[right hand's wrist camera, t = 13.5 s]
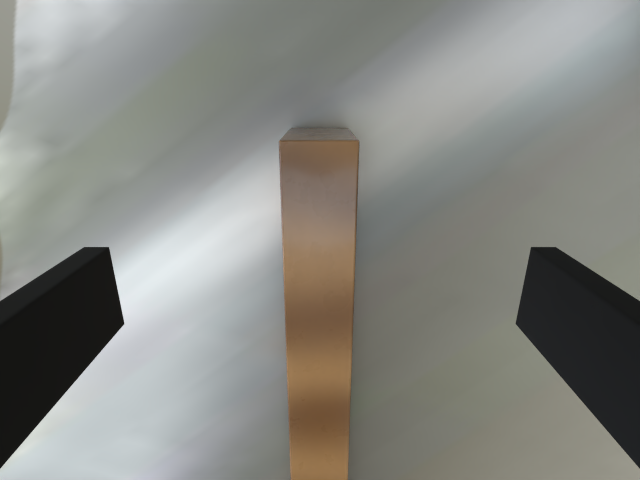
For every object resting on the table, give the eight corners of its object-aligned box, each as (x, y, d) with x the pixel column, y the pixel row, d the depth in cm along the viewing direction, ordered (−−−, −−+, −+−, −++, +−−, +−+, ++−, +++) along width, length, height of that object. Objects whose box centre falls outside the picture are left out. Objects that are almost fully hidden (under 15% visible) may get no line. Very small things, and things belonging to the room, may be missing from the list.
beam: (290, 127, 28) (278, 140, 20) (348, 127, 28) (359, 140, 20) (302, 598, 47) (298, 699, 39) (337, 598, 47) (340, 699, 39)
